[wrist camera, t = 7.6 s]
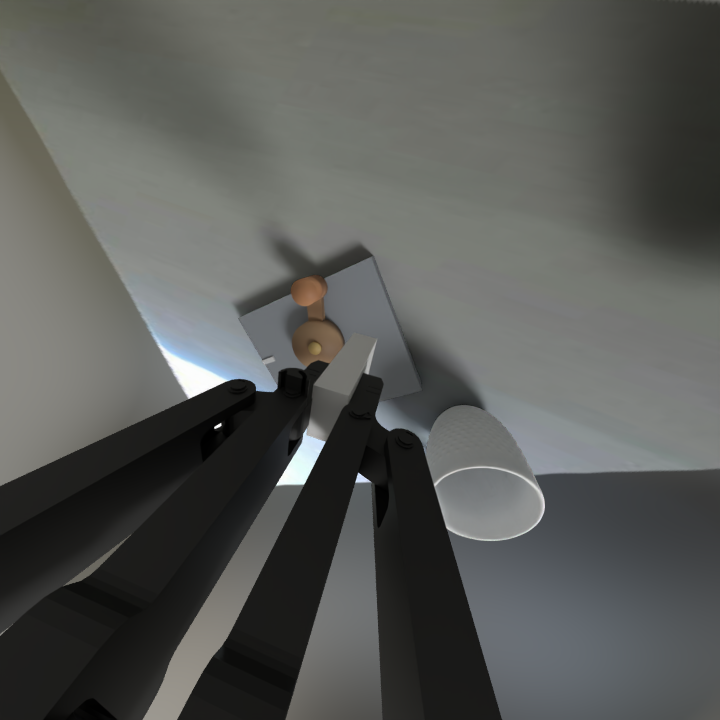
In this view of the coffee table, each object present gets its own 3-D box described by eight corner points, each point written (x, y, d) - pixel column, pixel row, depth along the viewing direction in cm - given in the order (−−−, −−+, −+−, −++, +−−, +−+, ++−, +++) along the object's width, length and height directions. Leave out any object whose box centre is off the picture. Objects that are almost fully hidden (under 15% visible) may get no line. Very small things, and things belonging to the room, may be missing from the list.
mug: (485, 476, 40) (513, 572, 29) (415, 463, 42) (414, 547, 30) (514, 397, 34) (566, 479, 22) (429, 385, 35) (436, 455, 24)
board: (373, 255, 30) (370, 257, 28) (421, 384, 36) (422, 392, 34) (246, 314, 37) (236, 318, 35) (304, 414, 42) (298, 423, 40)
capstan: (290, 274, 30) (273, 279, 27) (341, 274, 29) (331, 279, 26) (305, 396, 38) (294, 412, 34) (347, 400, 36) (340, 417, 33)
